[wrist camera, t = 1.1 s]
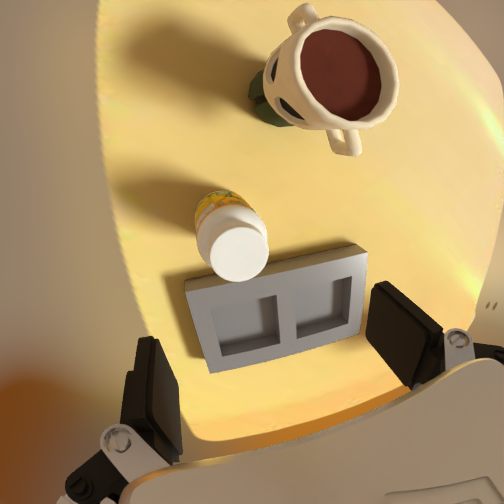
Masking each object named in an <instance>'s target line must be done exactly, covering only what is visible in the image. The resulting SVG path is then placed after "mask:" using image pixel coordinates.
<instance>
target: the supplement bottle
mask: <svg viewBox="0 0 504 504" xmlns="http://www.w3.org/2000/svg"><path fill="white" fill-rule="evenodd" d="M195 231H196V240H197V246H198V250H199V253H200V255H201V257H202V258H203V260H204V261H205V262H206V263H207V264H208V265H209V266H210V267H212V268H213V270H214V271H215V272H216V273H217V275H219V276H220V277H222V278H223V279H225V280H228V281H232V282H241V281H246V280H249V279H251V278H253V277H254V276H256V275H257V274H259V273H260V272H261V271H262V269H263V268H264V266H265V265H266V262H267V259H268V255H269V249H268V245H267V231H266V227H265V225H264V223H263V221H262V219H261V218H260V217H259V215H258V214H257V213H256V212H255V211H254V210H253V209H252V208H251V207H250V205H249V204H248V203H247V202H246V201H245V200H244V199H243V198H242V197H241V196H240V195H238V194H236V193H234V192H232V191H215V192H212V193H210V194H208V195H206V196H205V197H204V198H203V199H202V200H201V201H200V203H199V204H198V206H197V208H196V211H195Z"/></svg>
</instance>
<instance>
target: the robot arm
mask: <svg viewBox="0 0 504 504" xmlns="http://www.w3.org/2000/svg"><path fill="white" fill-rule="evenodd" d="M442 331H443V328H442V327H441V326H440V325H439V324H438V323H437V322H435V321H434V320H433V319H432V318H431V317H430V316H429V315H427V314H426V313H425V312H424V311H423V310H422V309H421V308H419V307H418V306H417V305H416V304H415V303H413V302H412V301H411V300H410V299H409V298H408V297H406V296H405V295H404V294H403V293H402V292H400V291H399V290H398V289H397V288H396V287H394V286H393V285H392V284H391V283H389V282H388V281H383V282H380V283H376V284H375V285H374V288H372V290H371V297H370V305H369V313H368V320H367V326H366V338H367V340H368V341H369V342H370V344H371V345H372V346H373V347H374V349H375V350H376V351H377V352H378V353H379V355H380V356H381V357H382V358H383V360H384V361H385V362H386V363H387V365H388V366H389V367H390V368H391V369H392V371H393V372H394V373H395V374H396V376H397V377H398V378H399V379H400V381H401V382H402V383H403V385H405V386H408V387H409V388H410V390H411V391H410V392H408V393H406V394H405V395H403V396H401V397H399V398H397V399H395V400H393V401H391V402H389V403H387V404H385V405H383V406H380V407H379V408H376V409H374V410H372V411H369V412H367V413H365V414H363V415H360V416H358V417H356V418H353V419H351V420H348V421H346V422H344V423H341V424H338V425H335V426H333V427H330V428H327V429H325V430H322V431H319V432H316V433H313V434H310V435H307V436H304V437H301V438H297V439H294V440H291V441H287V442H284V443H280V444H276V445H273V446H269V447H265V448H261V449H256V450H252V451H247V452H243V453H238V454H233V455H228V456H223V457H217V458H211V459H205V460H199V461H193V462H187V463H181V464H177V465H173V464H172V463H173V462H179V455H182V454H183V449H182V437H181V424H180V405H179V387H178V383H177V380H176V378H175V376H174V374H173V371H172V369H171V367H170V365H169V362H168V360H167V358H166V356H165V353H164V351H163V349H162V346H161V344H160V341H159V339H154V337H153V336H148V337H142V338H139V339H138V345H137V351H136V357H135V364H134V370H133V371H128V372H127V375H126V380H125V387H124V394H123V401H122V409H121V418H120V424H116V425H112V426H110V427H108V428H107V429H106V430H105V431H104V432H103V434H102V435H101V439H100V445H101V448H102V449H101V450H100V451H99V452H97V453H96V454H95V455H94V456H93V457H92V458H90V459H89V460H88V461H86V462H85V463H84V464H83V465H82V466H80V467H79V468H78V469H76V470H75V471H74V472H73V473H71V474H70V476H68V478H67V480H66V482H65V490H66V495H65V496H64V497H63V496H61V497H60V499H59V500H58V502H57V503H56V504H504V348H503V347H501V346H495V345H487V344H480V343H473V341H472V338H471V336H470V335H469V334H468V333H467V332H466V331H464V330H462V329H457V328H454V329H450V330H448V331H447V332H446V333H445V334H444V333H443V332H442ZM421 384H422V385H421Z"/></svg>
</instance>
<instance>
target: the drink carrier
mask: <svg viewBox="0 0 504 504" xmlns="http://www.w3.org/2000/svg"><path fill="white" fill-rule="evenodd" d="M367 259H368V252H367V251H365V250H364V249H363V248H361V247H360V246H358V245H357V244H356V245H351V246H346V247H342V248H337V249H333V250H328V251H324V252H319V253H314V254H310V255H305V256H300V257H296V258H291V259H286V260H281V261H277V262H272V263H267V264H266V265H265V266H264V268H263V269H262V271H261V272H260V273H259V274H257V275H256V276H254V277H253V278H251V279H249V280H246V281H241V282H232V281H228V280H225V279H223V278H222V277H220V276H219V275H217V274H213V275H208V276H203V277H198V278H193V279H188V280H185V294H186V298H187V301H188V305H189V308H190V312H191V315H192V319H193V322H194V325H195V329H196V332H197V335H198V338H199V342H200V345H201V348H202V351H203V354H204V357H205V360H206V363H207V366H208V369H209V372H210V374H211V373H216V372H221V371H226V370H231V369H236V368H240V367H245V366H249V365H254V364H258V363H262V362H266V361H270V360H274V359H278V358H282V357H286V356H289V355H293V354H296V353H300V352H303V351H307V350H310V349H314V348H317V347H320V346H323V345H327V344H330V343H333V342H336V341H339V340H342V339H345V338H348V337H351V336H354V335H357V334H359V333H360V326H361V318H362V311H363V302H364V293H365V284H366V272H367Z"/></svg>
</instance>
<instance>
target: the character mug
mask: <svg viewBox="0 0 504 504" xmlns="http://www.w3.org/2000/svg"><path fill="white" fill-rule="evenodd" d="M287 21H288V25H289V28H290V30H291V32H292V35H291V36H290V37H289V38H287V39H286V40H285V41H284V42H283V43H282V44H281V45H279V46H278V47H277V48H276V49H275V50H274V51H273V52H272V53H271V55H270V57H269V59H268V60H267V63H266V66H265V69H264V70H262V71H260V72H258V74H257V75H256V76H255V78H254V79H253V81H252V82H251V83H250V89H249V96H248V97H249V99H250V100H251V99H253V98H256V102H257V104H258V106H256V107H255V108H253V111H254V113H256V114H257V115H258V116H259V117H260V118H261V119H262V120H263V121H264V122H266V123H269V124H272V125H274V126H277V127H285V126H294V125H295V126H297V127H299V128H302V129H307V130H326V133H327V136H328V140H329V143H330V147H331V149H332V151H333V152H334V153H336V154H340V155H346V156H352V157H357V156H359V155H360V154H361V152H362V146H361V142H360V138H359V134H358V130H357V129H370V128H372V127H373V126H375V125H377V124H379V123H381V122H383V121H385V120H386V118H387V117H388V116H389V114H390V113H391V111H392V110H393V108H394V107H395V106H396V102H397V97H398V92H399V87H400V85H399V78H398V71H397V66H396V64H395V62H394V59H393V57H392V55H391V54H390V52H389V50H388V48H387V46H386V45H385V44H384V43H383V42H382V41H381V40H380V39H379V38H378V36H377V35H376V34H375V33H374V32H373V31H372V30H370V29H369V28H367V27H365V26H363V25H361V24H360V23H358V22H356V21H354V20H352V19H347V18H341V17H335V16H329V17H325V18H322V19H319V17H318V15H317V12H316V10H315V8H314V7H313V6H312V5H311V4H308V3H305V4H302V5H300V6H298V7H297V8H296V9H295V10H294V11H293V12H292V14H291V15H290V16H289V17H288V19H287ZM303 21H304V22H305V24H306V25H305V26H304V27H303V24H302V22H303ZM339 129H340V130H342V131H343V134H344V138H345V142H343V141H342V138H341V134H340V130H339Z"/></svg>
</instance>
